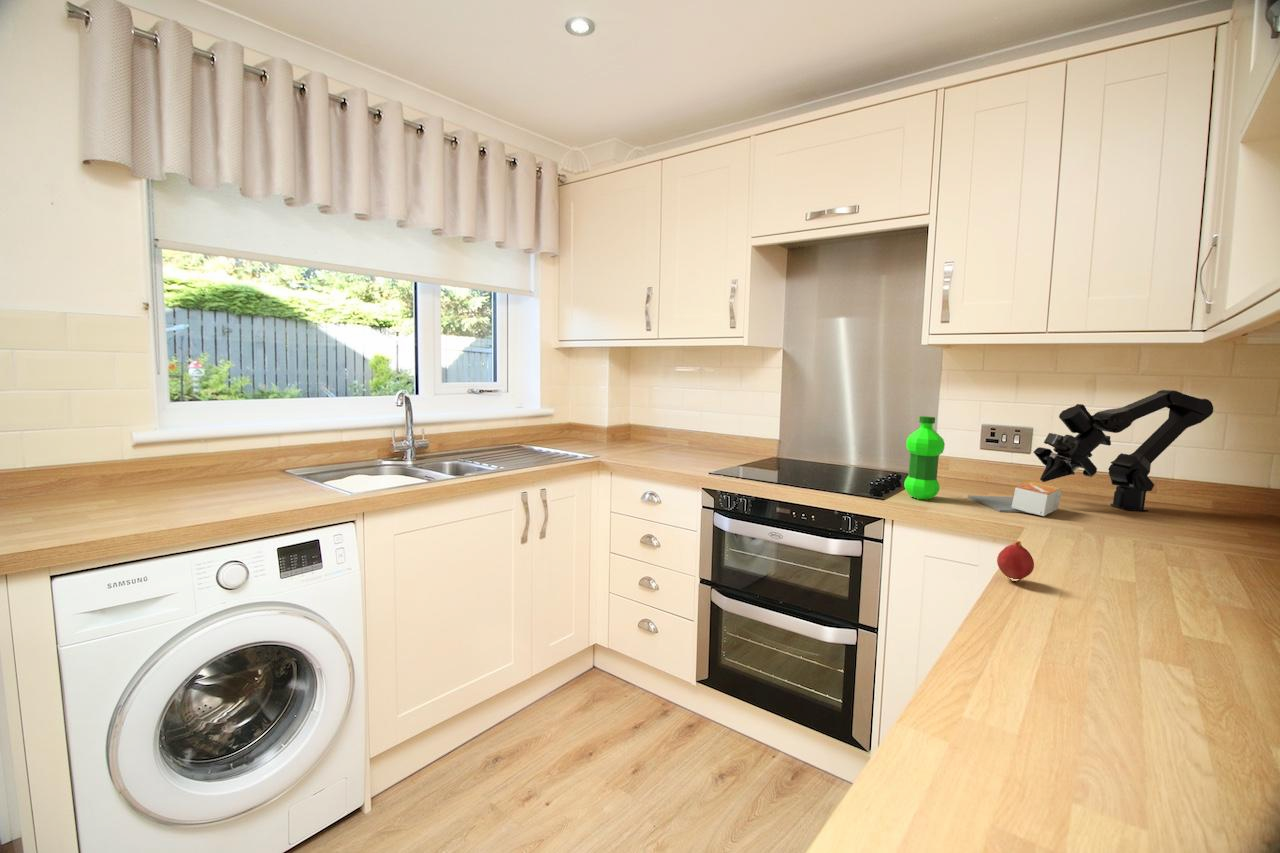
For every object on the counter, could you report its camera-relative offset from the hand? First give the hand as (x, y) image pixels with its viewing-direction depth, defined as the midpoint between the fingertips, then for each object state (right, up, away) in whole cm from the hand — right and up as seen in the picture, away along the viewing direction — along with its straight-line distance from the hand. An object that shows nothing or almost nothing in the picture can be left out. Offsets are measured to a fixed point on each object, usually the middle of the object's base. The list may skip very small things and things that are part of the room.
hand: (1041, 480), depth 171 cm
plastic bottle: (-32, -6, +8) cm, 33 cm away
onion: (-47, -14, -61) cm, 78 cm away
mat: (-9, -7, +2) cm, 12 cm away
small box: (0, -4, -1) cm, 4 cm away
